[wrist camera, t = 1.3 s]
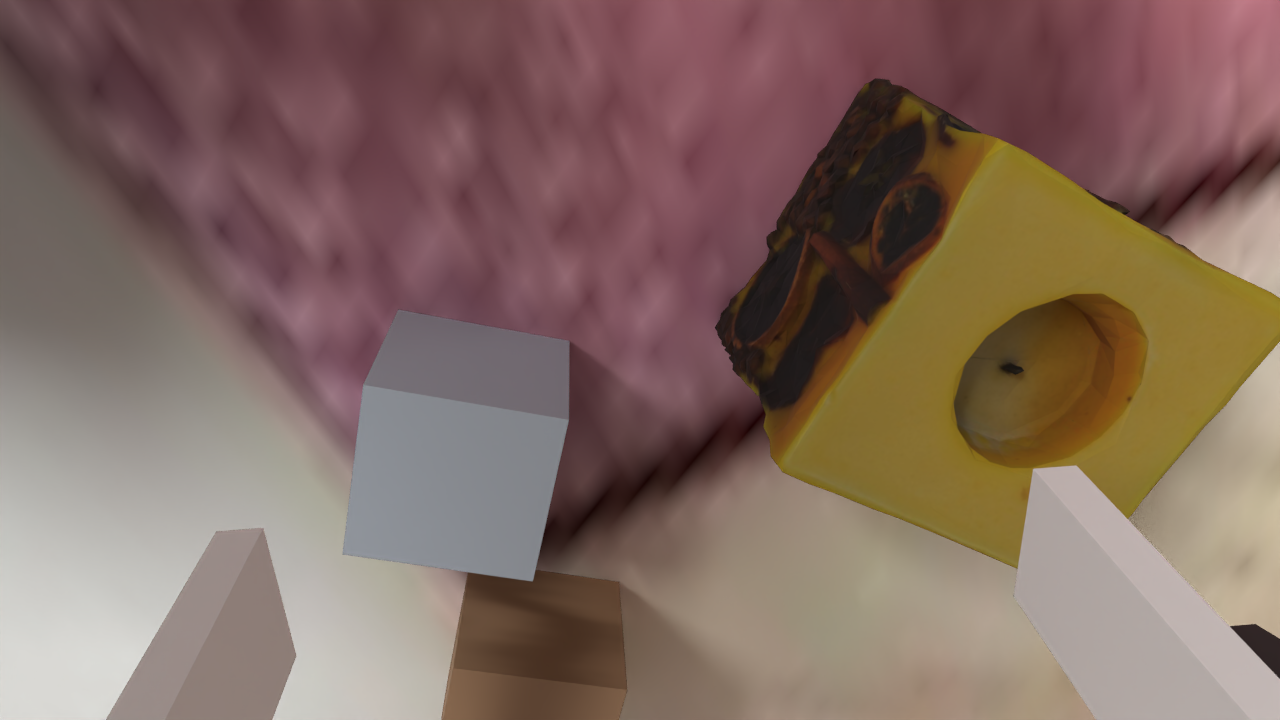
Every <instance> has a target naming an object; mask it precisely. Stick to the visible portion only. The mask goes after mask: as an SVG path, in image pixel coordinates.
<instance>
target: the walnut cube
mask: <svg viewBox="0 0 1280 720" xmlns="http://www.w3.org/2000/svg"><path fill="white" fill-rule="evenodd" d="M626 693H627V680H626V667H625V654H624V641H623V628H622V615H621V602H620V588H619V582H615V581H608V580H601V579H594V578H587V577H580V576H574V575H567V574H560V573H553V572H546V571H539V570H535V574H534V579H533V581H526V580H519V579H512V578H505V577H498V576H491V575H484V574H477V573H470V572H468V575H467V580H466V586H465V591H464V596H463V601H462V607H461V612H460V617H459V623H458V628H457V633H456V638H455V644H454V649H453V654H452V660H451V665H450V670H449V675H448V681H447V687H446V694H445V700H444V706H443V712H442V718H441V720H619V717H620V713H621V710H622V706H623V703H624V700H625V696H626Z"/></svg>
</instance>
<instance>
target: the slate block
mask: <svg viewBox="0 0 1280 720" xmlns="http://www.w3.org/2000/svg"><path fill="white" fill-rule="evenodd" d="M568 422H569V341H568V340H562V339H557V338H551V337H546V336H540V335H535V334H529V333H524V332H518V331H513V330H507V329H502V328H497V327H491V326H486V325H480V324H475V323H469V322H464V321H458V320H453V319H447V318H442V317H436V316H431V315H426V314H420V313H415V312H409V311H404V310H398V311H397V313H396V315H395V318H394V320H393V322H392V324H391V326H390V328H389V330H388V333H387V335H386V337H385V339H384V341H383V343H382V346H381V348H380V350H379V352H378V354H377V356H376V358H375V361H374V363H373V365H372V367H371V369H370V371H369V373H368V376H367V378H366V380H365V382H364V384H363V391H362V399H361V407H360V415H359V424H358V432H357V440H356V448H355V457H354V465H353V473H352V481H351V490H350V498H349V506H348V514H347V522H346V531H345V539H344V547H343V554H344V555H351V556H358V557H365V558H372V559H379V560H386V561H393V562H400V563H407V564H414V565H421V566H428V567H435V568H442V569H449V570H456V571H463V572H470V573H477V574H484V575H491V576H498V577H505V578H512V579H519V580H526V581H533V579H534V574H535V570H536V565H537V561H538V556H539V552H540V547H541V543H542V538H543V534H544V529H545V525H546V520H547V516H548V511H549V507H550V502H551V498H552V494H553V489H554V485H555V480H556V476H557V471H558V467H559V462H560V458H561V453H562V449H563V444H564V440H565V435H566V431H567V426H568Z"/></svg>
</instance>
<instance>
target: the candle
mask: <svg viewBox="0 0 1280 720" xmlns="http://www.w3.org/2000/svg"><path fill="white" fill-rule="evenodd" d="M1129 212H1130V211H1129V210H1128V209H1127V208H1125V207H1123V206H1122V205H1120V204H1118V203H1116V202H1112V201H1108V200H1105V199H1103V198H1101V197H1099V196H1097V195H1095V194H1093V193H1091V192H1089V190H1086V189H1084V188H1081V187H1080V186H1078V185H1077V184H1076V183H1074V182H1073V181H1071V180H1070V179H1069V178H1067V177H1066V176H1064V175H1062V174H1061V173H1059V172H1058V171H1056V170H1055V169H1053V168H1051V167H1050V166H1048V165H1047V164H1045V163H1044V162H1042V161H1040V160H1039V159H1037V158H1036V157H1034V156H1033V155H1031V154H1029V153H1028V152H1026V151H1024V150H1022V149H1020V148H1018V147H1015V146H1013V145H1011V144H1009V143H1007V142H1005V141H1003V140H1001V139H999V138H996V137H993V136H989V135H986V134H982V133H980V132H979V131H977V130H976V129H974V128H972V127H971V126H969V125H967V124H965V123H964V122H962V121H961V120H959V119H957V118H956V117H954V116H952V115H951V114H949V113H947V112H946V111H944V110H942V109H941V108H939V107H937V106H935V105H933V104H931V103H929V102H927V101H926V100H923V99H921V98H919V97H917V96H916V95H915V94H913V93H912V92H911V91H909V90H908V89H906V88H904V87H902V86H898V85H892V84H891V82H890V81H889V80H885V79H874V80H873V81H871V82H870V83H867V84H865V85H864V86H863V88H862V89H861V90H860V92H859V93H858V94H857V96H856V98H855V99H854V101H853V103H852V104H851V106H850V108H849V109H848V111H847V113H846V114H845V116H844V118H843V119H842V121H841V123H840V124H839V126H838V127H837V129H836V131H835V132H834V134H833V135H832V137H831V139H830V141H829V143H828V145H827V146H826V147H825V148H824V149H822V150H821V151H820V152H819V153H818V157H817V159H816V161H815V162H814V163H813V164H812V166H811V167H810V168H809V170H808V172H807V173H806V175H805V177H804V179H803V180H802V182H801V184H800V186H799V188H798V190H797V192H796V194H795V195H794V197H793V198H792V199H791V200H790V201H789V202H788V204H787V206H786V207H785V209H784V210H783V212H782V214H781V215H780V217H779V219H778V220H777V230H775V231H773V232H771V233H770V234H769V235H768V236H767V245H768V247H769V249H770V251H769V254H768V257H767V260H766V262H765V263H764V264H763V265H762V266H761V267H760V268H759V270H758V271H757V272H756V273H755V274H754V275H753V277H752V278H751V279H750V281H749V282H748V284H747V285H746V287H744V288H743V289H742V290H741V291H740V292H739V293H738V294H737V295H735V296H734V297H733V298H732V299H731V300H730V304H729V306H728V307H727V308H726V309H725V310H724V311H723V312H722V313H721V317H720V320H719V322H718V323H717V325H716V327H715V329H716V330H717V333H718V336H719V338H720V339H721V340H722V345H723V346H725V347H726V349H725V351H726V352H728V353H729V354H730V355H731V356H730V357H729V359H730V360H731V361H732V363H733V370H734V372H735V373H736V374H737V375H738V376H740V377H741V378H742V379H743V381H744V382H745V383H746V384H747V385H748V386H749V387H750V388H751V389H752V390H753V391H754V392H755V394H756V395H757V396H759V397H760V400H761V403H762V406H763V409H764V411H765V413H766V417H765V422H764V429H765V431H766V433H767V435H768V438H769V440H770V453H771V457H772V459H773V460H774V461H775V463H776V464H777V465H778V466H779V468H780V469H781V470H782V472H783V473H786V474H788V475H790V476H792V477H795V478H797V479H799V480H801V481H804V482H806V483H808V484H811V485H814V486H816V487H819V488H822V489H825V490H827V491H830V492H833V493H836V494H838V495H840V496H843V497H845V498H848V499H850V500H853V501H855V502H857V503H860V504H862V505H865V506H867V507H869V508H872V509H875V510H877V511H880V512H883V513H886V514H888V515H891V516H894V517H897V518H899V519H902V520H904V521H906V522H909V523H911V524H914V525H916V526H919V527H921V528H924V529H926V530H928V531H931V532H933V533H936V534H938V535H940V536H943V537H945V538H947V539H950V540H952V541H954V542H957V543H959V544H961V545H964V546H966V547H968V548H971V549H973V550H975V551H978V552H980V553H982V554H985V555H987V556H989V557H992V558H994V559H996V560H999V561H1001V562H1003V563H1005V564H1008V565H1010V566H1012V567H1015V568H1017V569H1018V563H1019V557H1020V550H1021V544H1022V537H1023V531H1024V525H1025V518H1026V512H1027V505H1028V499H1029V492H1030V486H1031V480H1032V473H1033V469H1036V468H1049V467H1062V466H1075V465H1076V466H1077V467H1078V468H1079V469H1080V470H1081V471H1082V472H1083V473H1084V474H1085V475H1086V476H1087V477H1088V478H1089V479H1090V480H1091V481H1092V482H1093V483H1094V484H1095V485H1096V487H1097V488H1098V489H1099V490H1100V491H1101V492H1102V493H1103V494H1104V495H1105V496H1106V497H1107V498H1108V499H1109V500H1110V501H1111V502H1112V503H1113V504H1114V505H1115V507H1116V508H1117V509H1118V510H1119V511H1120V512H1121V513H1122V514H1123V515H1124V516H1125V517H1126V518H1127V519H1128V518H1129V517H1130V516H1131V515H1132V514H1133V512H1134V511H1135V510H1136V508H1137V507H1138V506H1139V504H1140V503H1141V502H1142V500H1143V499H1144V498H1145V497H1146V495H1147V494H1148V493H1149V492H1150V491H1151V490H1152V488H1153V487H1154V486H1155V485H1156V484H1157V482H1158V481H1159V480H1160V479H1161V478H1162V476H1163V475H1164V474H1165V473H1166V472H1167V471H1168V469H1169V468H1170V467H1171V466H1172V465H1173V463H1174V462H1175V461H1176V460H1177V459H1178V458H1179V456H1180V455H1181V454H1182V453H1183V452H1184V450H1185V449H1186V448H1187V447H1188V446H1189V445H1190V443H1191V442H1192V441H1193V440H1194V439H1195V437H1196V436H1197V435H1198V434H1199V433H1200V432H1201V430H1202V429H1203V428H1204V427H1205V426H1206V425H1207V424H1208V423H1209V422H1210V421H1211V420H1212V419H1213V418H1214V417H1215V416H1216V415H1217V413H1218V412H1219V411H1220V410H1221V409H1222V408H1223V407H1224V406H1225V405H1226V404H1227V403H1228V402H1229V400H1230V399H1231V398H1232V397H1233V395H1234V394H1235V393H1236V391H1237V390H1238V389H1239V388H1240V386H1241V385H1242V384H1243V383H1244V382H1245V381H1246V379H1247V378H1248V377H1249V376H1250V375H1251V374H1252V373H1253V371H1254V370H1255V369H1256V368H1257V367H1258V366H1259V365H1260V363H1261V362H1262V361H1263V360H1264V359H1265V358H1266V357H1267V355H1268V354H1269V353H1270V352H1271V351H1272V350H1273V349H1274V347H1275V346H1276V345H1277V344H1278V343H1279V342H1280V298H1279V297H1277V296H1275V295H1274V294H1272V293H1271V292H1269V291H1266V290H1264V289H1262V288H1260V287H1258V286H1256V285H1254V284H1252V283H1250V282H1247V281H1245V280H1243V279H1241V278H1239V277H1237V276H1235V275H1233V274H1231V273H1228V272H1226V271H1224V270H1222V269H1220V268H1218V267H1216V266H1214V265H1212V264H1210V263H1207V262H1205V261H1203V260H1202V259H1200V258H1199V257H1198V256H1196V255H1195V254H1194V253H1193V252H1191V251H1190V250H1189V249H1187V248H1186V247H1185V246H1183V245H1180V244H1178V243H1176V242H1175V241H1174V240H1173V239H1172V238H1170V237H1169V236H1167V235H1163V234H1161V233H1159V232H1157V231H1155V230H1152V229H1149V228H1147V227H1145V226H1143V225H1141V224H1140V223H1138V222H1136V221H1134V220H1132V219H1131V218H1129V217H1127V216H1125V214H1127V213H1129Z"/></svg>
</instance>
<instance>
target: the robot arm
mask: <svg viewBox="0 0 1280 720" xmlns="http://www.w3.org/2000/svg"><path fill="white" fill-rule="evenodd" d="M1013 596H1014V598H1015V599H1016V601H1017V602H1018V604H1019V605H1020V607H1021V608H1022V610H1023V611H1024V613H1025V614H1026V616H1027V617H1028V619H1029V620H1030V622H1031V623H1032V625H1033V626H1034V628H1035V629H1036V631H1037V632H1038V634H1039V635H1040V637H1041V638H1042V640H1043V641H1044V643H1045V644H1046V646H1047V647H1048V649H1049V650H1050V652H1051V653H1052V655H1053V656H1054V658H1055V659H1056V661H1057V662H1058V664H1059V665H1060V667H1061V668H1062V670H1063V671H1064V672H1065V674H1066V675H1067V677H1068V678H1069V680H1070V681H1071V683H1072V684H1073V686H1074V687H1075V689H1076V690H1077V692H1078V693H1079V695H1080V696H1081V698H1082V699H1083V701H1084V702H1085V704H1086V705H1087V707H1088V708H1089V710H1090V711H1091V713H1092V714H1093V716H1094V717H1095V719H1096V720H1280V639H1279V638H1277V637H1276V636H1274V635H1272V634H1271V633H1269V632H1267V631H1266V630H1264V629H1263V628H1261V627H1259V626H1258V625H1256V624H1251V625H1240V626H1229V625H1228V624H1227V623H1226V622H1225V621H1224V620H1223V619H1222V618H1221V617H1220V616H1219V615H1218V614H1217V613H1216V612H1215V611H1214V609H1213V608H1212V607H1211V606H1210V605H1209V604H1208V603H1207V602H1206V601H1205V600H1204V599H1203V598H1202V597H1201V596H1200V595H1199V594H1198V593H1197V592H1196V591H1195V590H1194V588H1193V587H1192V586H1191V585H1190V584H1189V583H1188V582H1187V581H1186V580H1185V579H1184V578H1183V577H1182V576H1181V575H1180V574H1179V573H1178V572H1177V571H1176V570H1175V568H1174V567H1173V566H1172V565H1171V564H1170V563H1169V562H1168V561H1167V560H1166V559H1165V558H1164V557H1163V556H1162V555H1161V554H1160V553H1159V552H1158V551H1157V550H1156V549H1155V547H1154V546H1153V545H1152V544H1151V543H1150V542H1149V541H1148V540H1147V539H1146V538H1145V537H1144V536H1143V535H1142V534H1141V533H1140V532H1139V531H1138V530H1137V529H1136V528H1135V526H1134V525H1133V524H1132V523H1131V522H1130V521H1129V520H1128V519H1127V518H1126V517H1125V516H1124V515H1123V514H1122V513H1121V512H1120V511H1119V510H1118V509H1117V508H1116V507H1115V505H1114V504H1113V503H1112V502H1111V501H1110V500H1109V499H1108V498H1107V497H1106V496H1105V495H1104V494H1103V493H1102V492H1101V491H1100V490H1099V489H1098V488H1097V487H1096V485H1095V484H1094V483H1093V482H1092V481H1091V480H1090V479H1089V478H1088V477H1087V476H1086V475H1085V474H1084V473H1083V472H1082V471H1081V470H1080V469H1079V468H1078V467H1077V466H1076V465H1075V466H1062V467H1049V468H1036V469H1033V473H1032V480H1031V486H1030V492H1029V499H1028V505H1027V512H1026V518H1025V525H1024V531H1023V537H1022V544H1021V550H1020V557H1019V563H1018V570H1017V576H1016V582H1015V589H1014V595H1013ZM295 658H296V653H295V649H294V645H293V641H292V637H291V633H290V629H289V626H288V622H287V618H286V614H285V610H284V606H283V602H282V599H281V595H280V591H279V587H278V583H277V579H276V576H275V572H274V568H273V564H272V560H271V556H270V552H269V549H268V545H267V541H266V537H265V533H264V529H263V528H255V529H242V530H229V531H216V533H215V535H214V536H213V538H212V540H211V542H210V543H209V545H208V547H207V548H206V550H205V552H204V553H203V555H202V557H201V559H200V560H199V562H198V564H197V565H196V567H195V569H194V571H193V572H192V574H191V576H190V577H189V579H188V581H187V582H186V584H185V586H184V588H183V589H182V591H181V593H180V594H179V596H178V598H177V599H176V601H175V603H174V605H173V606H172V608H171V610H170V611H169V613H168V615H167V616H166V618H165V620H164V622H163V623H162V625H161V627H160V628H159V630H158V632H157V634H156V635H155V637H154V639H153V640H152V642H151V644H150V645H149V647H148V649H147V651H146V652H145V654H144V656H143V657H142V659H141V661H140V662H139V664H138V666H137V668H136V669H135V671H134V673H133V674H132V676H131V678H130V680H129V681H128V683H127V685H126V686H125V688H124V690H123V691H122V693H121V695H120V697H119V698H118V700H117V702H116V703H115V705H114V707H113V708H112V710H111V712H110V714H109V715H108V717H107V719H106V720H272V719H273V716H274V714H275V711H276V708H277V706H278V703H279V700H280V698H281V695H282V692H283V690H284V687H285V684H286V682H287V679H288V676H289V674H290V671H291V668H292V666H293V663H294V660H295Z"/></svg>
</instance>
